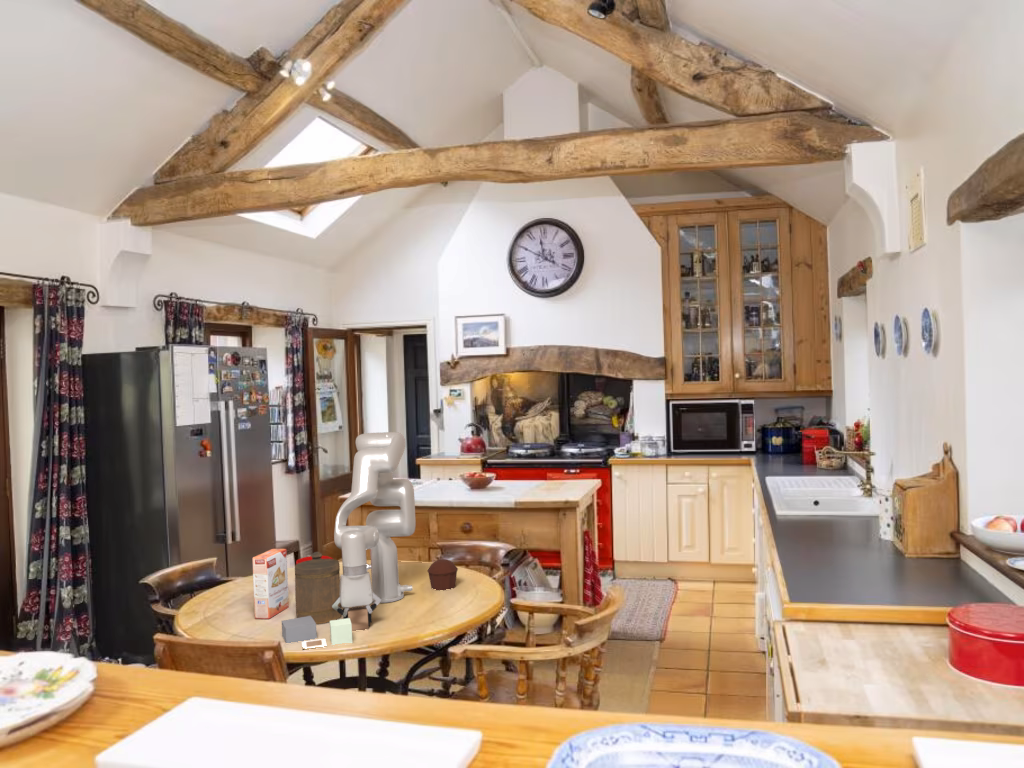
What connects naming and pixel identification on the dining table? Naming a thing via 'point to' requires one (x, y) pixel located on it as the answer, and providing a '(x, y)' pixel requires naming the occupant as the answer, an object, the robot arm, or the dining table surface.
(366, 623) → the walnut cube
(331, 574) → the wooden container
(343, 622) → the sage cube
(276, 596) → the cracker box
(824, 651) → the dining table surface
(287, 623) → the base block
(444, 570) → the muffin
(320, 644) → the tile
